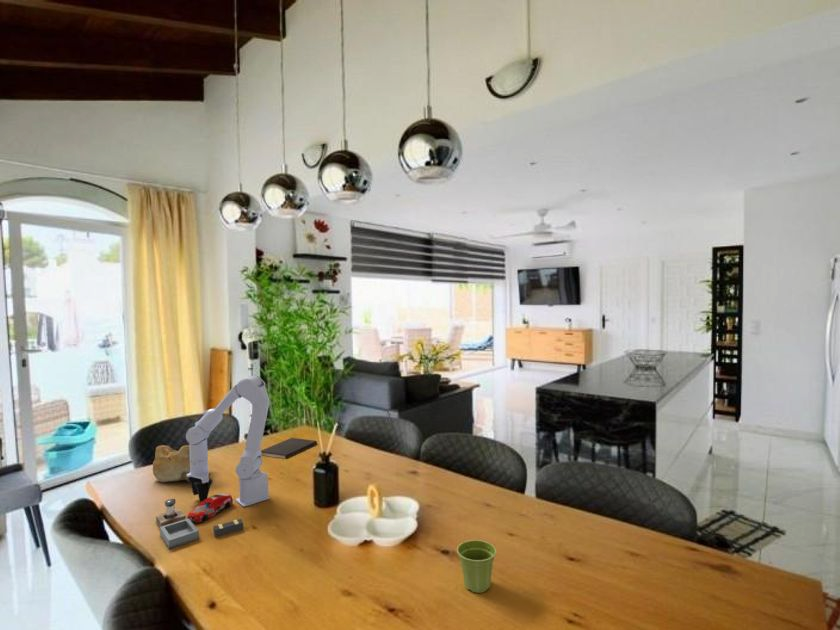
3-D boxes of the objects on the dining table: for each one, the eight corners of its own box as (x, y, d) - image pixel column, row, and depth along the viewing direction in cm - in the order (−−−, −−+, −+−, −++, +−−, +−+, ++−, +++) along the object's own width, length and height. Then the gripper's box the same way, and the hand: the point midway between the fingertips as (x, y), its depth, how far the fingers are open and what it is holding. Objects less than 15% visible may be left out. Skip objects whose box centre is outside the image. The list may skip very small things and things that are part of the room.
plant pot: (454, 575, 112) (454, 540, 112) (491, 572, 113) (490, 538, 113) (461, 599, 103) (460, 562, 103) (501, 596, 103) (500, 559, 103)
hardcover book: (258, 456, 210) (258, 451, 210) (291, 442, 231) (291, 437, 231) (285, 460, 203) (285, 455, 203) (317, 445, 224) (317, 440, 224)
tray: (188, 526, 141) (188, 518, 141) (199, 539, 133) (198, 530, 133) (160, 535, 136) (159, 527, 136) (169, 549, 128) (168, 540, 128)
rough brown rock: (225, 475, 187) (225, 438, 188) (194, 487, 171) (194, 447, 173) (182, 472, 194) (182, 437, 196) (148, 483, 179) (148, 445, 180)
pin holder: (179, 515, 149) (179, 508, 149) (185, 522, 144) (185, 515, 144) (156, 522, 145) (155, 515, 145) (161, 529, 139) (160, 523, 139)
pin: (174, 519, 146) (174, 498, 146) (177, 522, 144) (176, 500, 144) (164, 522, 144) (163, 500, 144) (166, 525, 142) (166, 503, 142)
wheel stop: (241, 526, 141) (240, 518, 141) (243, 530, 138) (243, 521, 138) (213, 534, 136) (213, 525, 136) (215, 538, 134) (215, 529, 134)
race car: (198, 526, 142) (197, 511, 141) (182, 523, 144) (181, 508, 144) (236, 504, 157) (236, 491, 156) (222, 502, 159) (221, 488, 159)
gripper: (181, 457, 162) (182, 494, 162) (192, 467, 151) (193, 507, 151) (201, 452, 166) (203, 489, 166) (214, 462, 155) (215, 501, 156)
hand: (200, 497), depth 159 cm, fingers open, 7 cm apart
